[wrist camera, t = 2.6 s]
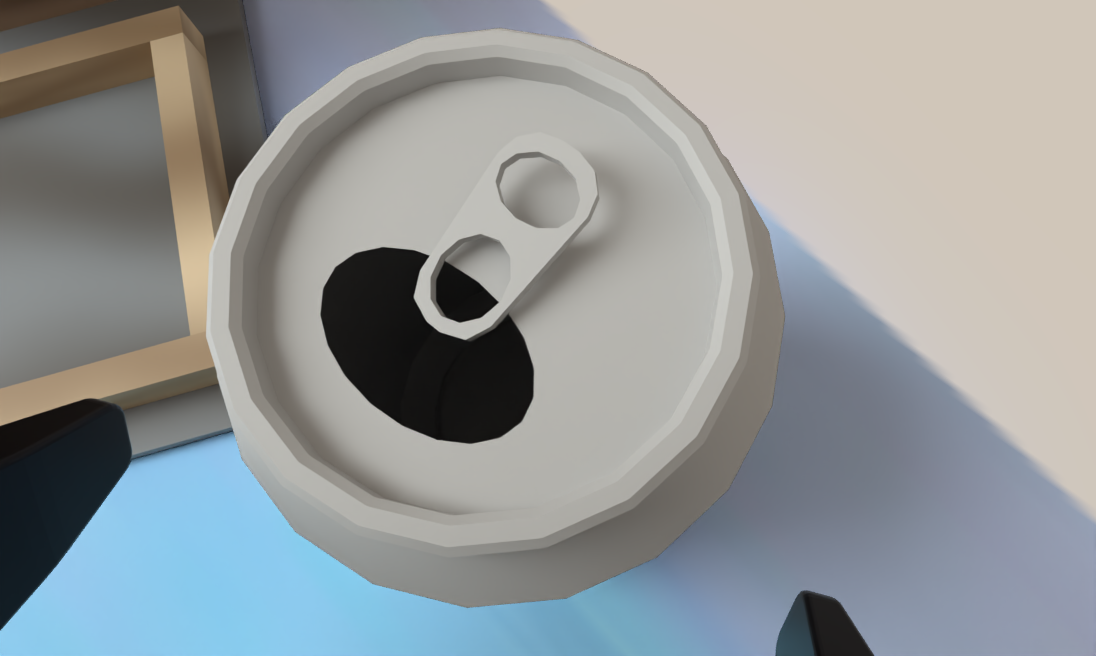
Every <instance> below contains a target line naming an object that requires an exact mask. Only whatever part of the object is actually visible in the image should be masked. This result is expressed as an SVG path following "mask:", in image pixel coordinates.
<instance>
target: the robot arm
mask: <svg viewBox="0 0 1096 656" xmlns="http://www.w3.org/2000/svg"><path fill="white" fill-rule="evenodd" d="M131 458H132V446H131V441H130V437H129V432H128V427H127V423H126V418H125V414H124V411H123V409H122V408H121V407H120V406H119V405H117V404H114V403H110V402H106V401H103V400H99V399H95V398H87V399H83V400H80V401H76V402H73V403H70V404H67V405H64V406H61V407H58V408H54V409H51V410H48V411H45V412H42V413H39V414H36V415H33V416H29V417H26V418H23V419H20V420H17V421H14V422H11V423H7V424H4V425H1V426H0V631H1V629H2V628H3V627H4V626H5V625H6V624H7V623H8V621H9V620H10V619H11V618H12V617H13V616H14V614H15V613H16V612H17V611H18V610H19V609H20V608H21V606H22V605H23V604H24V603H25V602H26V601H27V600H28V598H29V597H30V596H31V595H32V594H33V593H34V592H35V590H36V589H37V588H38V587H39V586H40V585H41V584H42V582H43V581H44V580H45V579H46V578H47V577H48V575H49V574H50V573H51V572H52V571H53V569H54V568H55V567H56V566H57V565H58V563H59V562H60V561H61V559H62V558H63V557H64V555H65V554H66V553H67V551H68V550H69V549H70V547H71V546H72V545H73V543H74V542H75V541H76V539H77V538H78V536H79V535H80V534H81V532H82V531H83V530H84V528H85V527H86V525H87V524H88V523H89V521H90V520H91V518H92V517H93V516H94V514H95V513H96V512H97V510H98V509H99V507H100V506H101V505H102V503H103V502H104V500H105V499H106V498H107V496H108V495H109V494H110V492H111V491H112V489H113V488H114V487H115V485H116V484H117V482H118V481H119V480H120V478H121V477H122V476H123V474H124V473H125V471H126V470H127V468H128V466H129V464H130V462H131ZM775 656H874V654H873V653H872V651H871V650H870V648H869V647H868V645H867V644H866V642H865V640H864V639H863V637H862V636H861V634H860V633H859V631H858V630H857V628H856V626H855V625H854V623H853V622H852V620H851V619H850V617H849V616H848V614H847V612H846V611H845V609H844V608H843V606H842V605H841V604H840V602H838V601H837V600H836V599H835V598H833V597H830V596H826V595H822V594H818V593H815V592H811V591H801V592H800V593H799V594H798V595H797V597H796V599H795V601H794V603H793V605H792V607H791V610H790V612H789V614H788V616H787V618H786V620H785V622H784V624H783V626H782V628H781V631H780V633H779V636H778V640H777V645H776V655H775Z"/></svg>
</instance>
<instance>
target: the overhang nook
mask: <svg viewBox="0 0 1096 656" xmlns="http://www.w3.org/2000/svg"><path fill="white" fill-rule="evenodd" d="M267 139H268V138H267V132H266V127H265V122H264V116H263V111H262V105H261V100H260V94H259V89H258V84H257V78H256V73H255V67H254V62H253V56H252V51H251V46H250V40H249V35H248V29H247V24H246V18H245V13H244V8H243V2H242V0H0V426H1V425H4V424H7V423H11V422H14V421H17V420H20V419H23V418H26V417H29V416H33V415H36V414H39V413H42V412H45V411H48V410H51V409H54V408H58V407H61V406H64V405H67V404H70V403H73V402H76V401H80V400H83V399H87V398H95V399H99V400H103V401H106V402H110V403H114V404H117V405H119V406H120V407H121V408H122V409H123V411H124V414H125V418H126V423H127V427H128V432H129V437H130V441H131V446H132V458H131V459H134V458H138V457H141V456H145V455H148V454H152V453H155V452H159V451H162V450H166V449H170V448H173V447H177V446H180V445H184V444H187V443H191V442H194V441H198V440H202V439H205V438H209V437H212V436H216V435H219V434H223V433H226V432H230V431H233V428H232V425H231V421H230V418H229V415H228V411H227V408H226V405H225V401H224V398H223V395H222V391H221V388H220V385H219V381H218V378H217V371H216V368H215V365H214V361H213V358H212V355H211V352H210V348H209V345H208V342H207V338H206V322H207V297H208V272H209V254H210V251H211V249H212V246H213V243H214V240H215V238H216V235H217V232H218V230H219V227H220V224H221V221H222V219H223V216H224V213H225V210H226V208H227V205H228V202H229V200H230V197H231V194H232V191H233V189H234V186H235V183H236V181H237V179H238V177H239V176H240V175H241V173H242V172H243V171H244V169H245V168H246V167H247V165H248V164H249V163H250V161H251V160H252V159H253V157H254V156H255V155H256V153H257V152H258V151H259V149H260V148H261V147H262V145H263V144H264V143H265V141H266V140H267Z"/></svg>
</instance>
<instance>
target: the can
mask: <svg viewBox="0 0 1096 656" xmlns="http://www.w3.org/2000/svg"><path fill="white" fill-rule="evenodd" d="M784 321H785V313H784V308H783V303H782V298H781V292H780V287H779V282H778V277H777V271H776V266H775V261H774V256H773V250H772V245H771V240H770V235H769V231H768V229H767V227H766V226H765V224H764V222H763V220H762V219H761V217H760V215H759V213H758V212H757V210H756V208H755V206H754V205H753V203H752V201H751V199H750V197H749V196H748V194H747V192H746V190H745V189H744V187H743V185H742V183H741V182H740V180H739V178H738V176H737V175H736V173H735V171H734V169H733V168H732V166H731V164H730V162H729V160H728V159H727V158H726V157H725V156H724V155H723V154H722V153H721V151H720V149H719V148H718V146H717V144H716V142H715V140H714V139H713V137H712V135H711V133H710V132H709V130H708V128H707V126H706V125H705V124H704V123H703V122H702V121H701V120H699V119H698V118H697V117H696V116H695V115H694V114H693V113H692V112H691V111H690V110H688V109H687V108H686V107H685V106H684V105H683V104H682V103H681V102H680V101H678V100H677V99H676V98H675V97H674V96H673V95H672V94H671V93H669V92H668V91H667V90H666V89H665V88H664V87H663V86H662V85H661V84H659V82H657V81H656V80H655V79H654V78H653V77H652V76H651V75H650V74H649V73H647V72H645V71H643V70H641V69H639V68H636V67H634V66H632V65H630V64H628V63H626V62H624V61H622V60H619V59H617V58H615V57H613V56H611V55H609V54H606V53H604V52H602V51H600V50H598V49H596V48H594V47H591V46H589V45H587V44H585V43H583V42H581V41H579V40H575V39H568V38H562V37H555V36H549V35H542V34H536V33H529V32H523V31H516V30H509V29H503V28H496V29H487V30H479V31H471V32H462V33H454V34H446V35H438V36H429V37H421V38H419V39H416V40H414V41H412V42H409V43H407V44H404V45H402V46H399V47H397V48H394V49H392V50H389V51H387V52H384V53H382V54H379V55H377V56H375V57H372V58H370V59H367V60H365V61H362V62H360V63H357V64H355V65H352V66H350V67H348V68H346V69H345V70H344V71H342V72H341V73H340V74H339V75H337V76H336V77H335V78H333V79H332V80H331V81H329V82H328V83H327V84H325V85H324V86H323V87H322V88H320V89H319V90H318V91H316V92H315V93H314V94H312V95H311V96H310V97H308V98H307V99H306V100H304V101H303V102H302V103H301V104H299V105H298V106H297V107H295V108H294V109H293V110H291V111H290V112H289V113H287V114H286V115H285V116H284V117H283V119H282V120H281V121H280V123H279V124H278V125H277V127H276V128H275V129H274V131H273V132H272V133H271V135H270V136H269V137H268V139H267V140H266V141H265V143H264V144H263V145H262V147H261V148H260V149H259V151H258V152H257V153H256V155H255V156H254V157H253V159H252V160H251V161H250V163H249V164H248V165H247V167H246V168H245V169H244V171H243V172H242V173H241V175H240V176H239V177H238V179H237V181H236V183H235V186H234V189H233V191H232V194H231V197H230V200H229V202H228V205H227V208H226V210H225V213H224V216H223V219H222V221H221V224H220V227H219V230H218V232H217V235H216V238H215V240H214V243H213V246H212V249H211V251H210V254H209V272H208V297H207V322H206V338H207V342H208V345H209V348H210V352H211V355H212V358H213V361H214V365H215V368H216V371H217V378H218V381H219V385H220V388H221V391H222V395H223V398H224V401H225V405H226V408H227V411H228V415H229V418H230V421H231V425H232V428H233V431H234V435H235V438H236V441H237V445H238V448H239V451H240V455H241V458H242V460H243V461H244V463H245V464H246V466H247V467H248V468H249V470H250V471H251V472H252V474H253V475H254V476H255V478H256V479H257V481H258V482H259V483H260V485H261V486H262V487H263V489H264V490H265V491H266V493H267V494H268V496H269V497H270V498H271V500H272V501H273V502H274V504H275V505H276V506H277V508H278V509H279V511H280V512H281V513H282V515H283V516H284V517H285V519H286V520H287V521H288V523H289V524H290V526H291V527H292V528H293V530H294V531H295V532H296V533H298V534H299V535H301V536H302V537H304V538H305V539H307V540H308V541H310V542H311V543H312V544H314V545H315V546H317V547H318V548H320V549H321V550H323V551H324V552H326V553H327V554H329V555H330V556H332V557H333V558H335V559H336V560H338V561H339V562H341V563H342V564H344V565H345V566H347V567H348V568H350V569H351V570H353V571H354V572H356V573H357V574H359V575H360V576H362V577H363V578H365V579H366V580H368V581H369V582H371V583H372V584H375V585H379V586H383V587H387V588H391V589H395V590H399V591H403V592H407V593H411V594H415V595H418V596H422V597H426V598H430V599H434V600H438V601H442V602H446V603H450V604H454V605H458V606H462V607H466V608H469V607H480V606H491V605H501V604H512V603H523V602H534V601H545V600H556V599H566V598H568V597H571V596H573V595H575V594H577V593H579V592H582V591H584V590H586V589H588V588H590V587H593V586H595V585H597V584H599V583H601V582H604V581H606V580H608V579H610V578H612V577H615V576H617V575H619V574H621V573H623V572H626V571H628V570H630V569H632V568H634V567H637V566H639V565H641V564H643V563H645V562H648V561H650V560H652V559H654V558H656V557H658V556H659V555H660V554H661V553H662V552H663V551H664V550H665V549H666V548H667V547H668V546H669V545H671V544H672V543H673V542H674V541H675V540H676V539H677V538H678V537H679V536H680V535H681V534H682V533H683V532H684V531H685V530H686V529H687V528H689V527H690V526H691V525H692V524H693V523H694V522H695V521H696V520H697V519H698V518H699V517H700V516H701V515H702V514H703V513H704V512H705V511H706V510H708V509H709V508H710V507H711V506H712V505H713V504H714V503H715V502H716V501H717V500H718V499H719V498H720V497H721V496H722V495H723V494H724V493H726V492H727V491H728V490H729V488H730V486H731V484H732V482H733V480H734V478H735V476H736V474H737V472H738V470H739V468H740V467H741V465H742V463H743V461H744V459H745V457H746V455H747V453H748V451H749V449H750V447H751V445H752V443H753V442H754V440H755V438H756V436H757V434H758V432H759V430H760V428H761V426H762V424H763V422H764V420H765V419H766V417H767V415H768V413H769V411H770V409H771V407H772V403H773V396H774V389H775V382H776V376H777V369H778V362H779V355H780V348H781V341H782V335H783V328H784Z"/></svg>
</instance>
